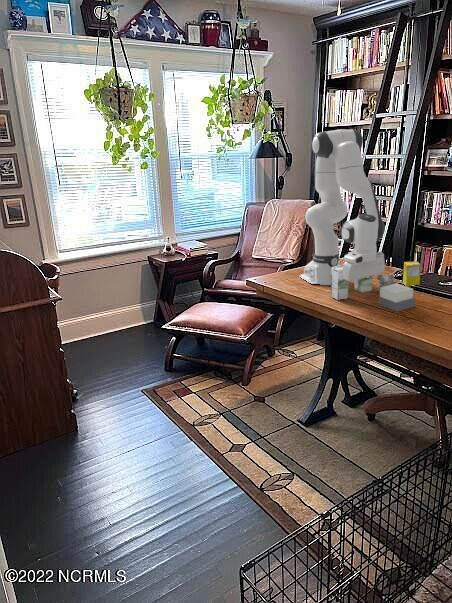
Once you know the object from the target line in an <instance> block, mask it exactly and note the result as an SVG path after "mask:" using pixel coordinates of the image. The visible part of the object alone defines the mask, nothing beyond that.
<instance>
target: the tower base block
mask: <svg viewBox="0 0 452 603" xmlns="http://www.w3.org/2000/svg"><path fill="white" fill-rule="evenodd" d="M378 298H379V299H378V305H379V306H381V305H382V307H384V308H386V307H387V308H386V309H390V310H392V311H395V312H401V311H405V310H407V309H411V308H414V307H416V302H417V301H416V300H417V298H416V297H414V296H413V298H411V299H407V300H404V301H400V302H393V301H390V300H388V299H385V298H382V297H380V296H378Z"/></svg>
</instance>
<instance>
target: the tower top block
mask: <svg viewBox="0 0 452 603" xmlns="http://www.w3.org/2000/svg"><path fill="white" fill-rule="evenodd" d="M413 295H414V288H409V287H406V286H404V285H403V284H399V283H398V282H397V283H394V284H392V285H388V286H385V287H381V288H380V294H379V297H382V298H385V299H388V300H390V301H393V302H400V301H404V300H407V299H411V298H413V297H414V296H413Z"/></svg>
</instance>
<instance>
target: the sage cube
mask: <svg viewBox="0 0 452 603" xmlns="http://www.w3.org/2000/svg"><path fill="white" fill-rule="evenodd" d="M358 284H360V288H355V286H354V290H355V291H356V292H357V291H358V293H359V292H360V293H362V294H364V293H366V292H371V291H373V290H372V289H373V281H372V279H370V278H369V277H363V278H359V281H358Z"/></svg>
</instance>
